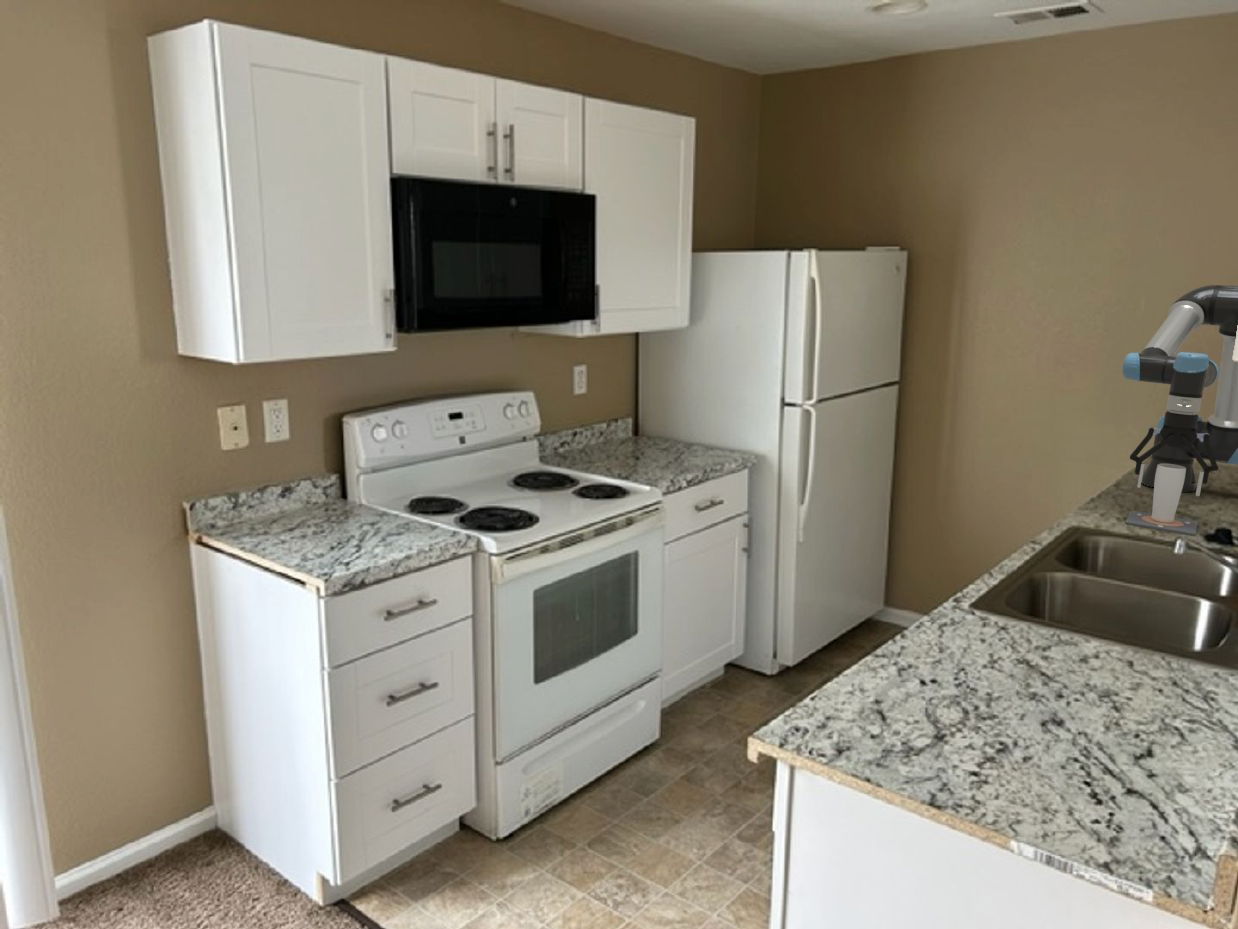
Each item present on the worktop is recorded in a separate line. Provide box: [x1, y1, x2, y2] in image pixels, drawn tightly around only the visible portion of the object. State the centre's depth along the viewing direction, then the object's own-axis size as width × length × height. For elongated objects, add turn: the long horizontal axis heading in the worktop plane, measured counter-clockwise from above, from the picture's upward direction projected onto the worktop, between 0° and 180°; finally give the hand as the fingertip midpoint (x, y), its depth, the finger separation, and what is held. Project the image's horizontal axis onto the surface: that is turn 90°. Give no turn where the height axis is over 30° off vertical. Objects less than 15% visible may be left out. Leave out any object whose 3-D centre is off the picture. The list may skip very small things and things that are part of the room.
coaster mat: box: [1124, 510, 1199, 537], centre depth 249 cm, size 16×16×1 cm
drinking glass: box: [1151, 464, 1186, 523], centre depth 247 cm, size 7×7×15 cm
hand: (1167, 491), depth 247 cm, fingers open, 13 cm apart
